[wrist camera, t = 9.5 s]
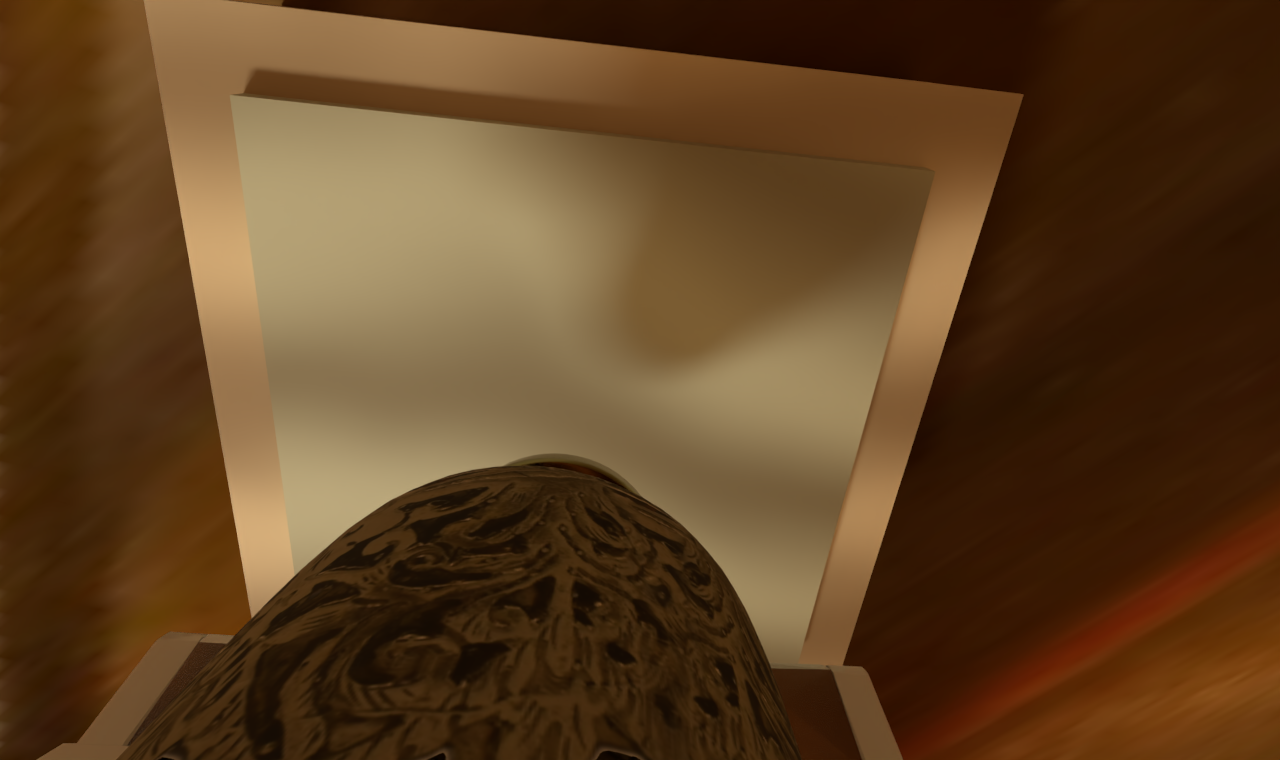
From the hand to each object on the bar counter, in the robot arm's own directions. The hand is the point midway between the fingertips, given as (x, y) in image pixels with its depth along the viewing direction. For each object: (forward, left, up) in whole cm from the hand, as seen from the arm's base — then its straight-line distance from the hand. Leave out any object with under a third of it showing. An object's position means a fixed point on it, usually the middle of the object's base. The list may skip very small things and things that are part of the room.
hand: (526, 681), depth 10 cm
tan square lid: (0, 0, -13) cm, 13 cm away
